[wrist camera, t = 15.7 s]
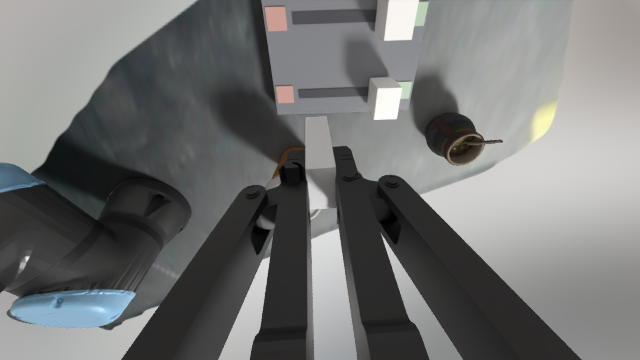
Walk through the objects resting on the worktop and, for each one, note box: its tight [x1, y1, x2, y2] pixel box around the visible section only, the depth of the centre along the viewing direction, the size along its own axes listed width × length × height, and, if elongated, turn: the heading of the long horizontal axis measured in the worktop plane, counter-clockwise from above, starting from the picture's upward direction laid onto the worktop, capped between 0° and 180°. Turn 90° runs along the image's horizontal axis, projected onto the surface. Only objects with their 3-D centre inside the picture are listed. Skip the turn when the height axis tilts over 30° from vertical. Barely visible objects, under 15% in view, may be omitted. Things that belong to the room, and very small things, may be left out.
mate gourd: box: [425, 113, 503, 166], centre depth 37 cm, size 7×8×10 cm
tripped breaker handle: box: [374, 0, 419, 41], centre depth 26 cm, size 3×4×5 cm
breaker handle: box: [367, 77, 402, 120], centre depth 31 cm, size 3×4×5 cm
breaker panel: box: [261, 0, 431, 115], centre depth 32 cm, size 20×15×3 cm
